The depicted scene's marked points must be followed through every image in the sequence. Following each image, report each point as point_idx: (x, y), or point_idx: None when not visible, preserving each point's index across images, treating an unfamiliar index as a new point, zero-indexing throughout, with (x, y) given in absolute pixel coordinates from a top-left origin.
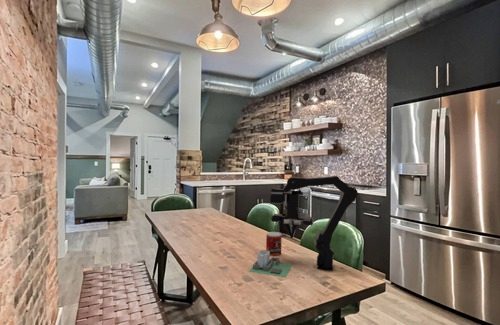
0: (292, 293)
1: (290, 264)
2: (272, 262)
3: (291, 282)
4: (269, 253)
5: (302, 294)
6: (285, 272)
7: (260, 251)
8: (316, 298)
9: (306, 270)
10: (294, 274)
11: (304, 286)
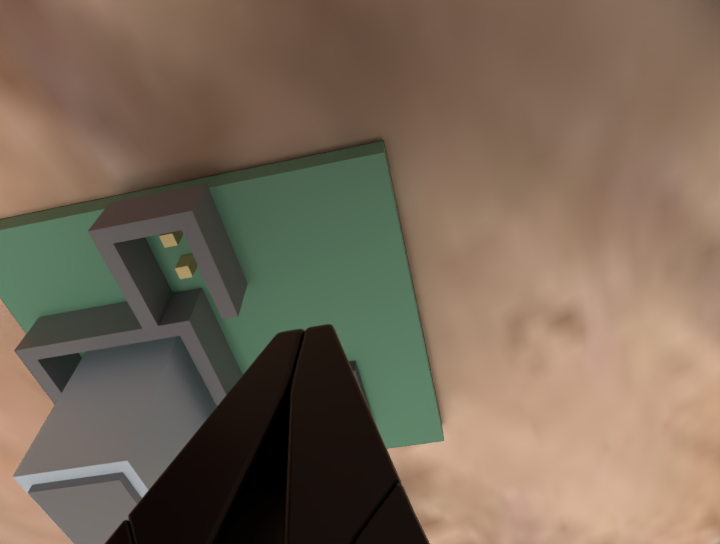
0: (545, 529)
1: (355, 163)
2: (208, 352)
3: (496, 434)
4: (139, 438)
5: (607, 517)
6: (401, 372)
7: (71, 532)
8: (698, 518)
9: (572, 149)
10: (473, 308)
11: (605, 441)
